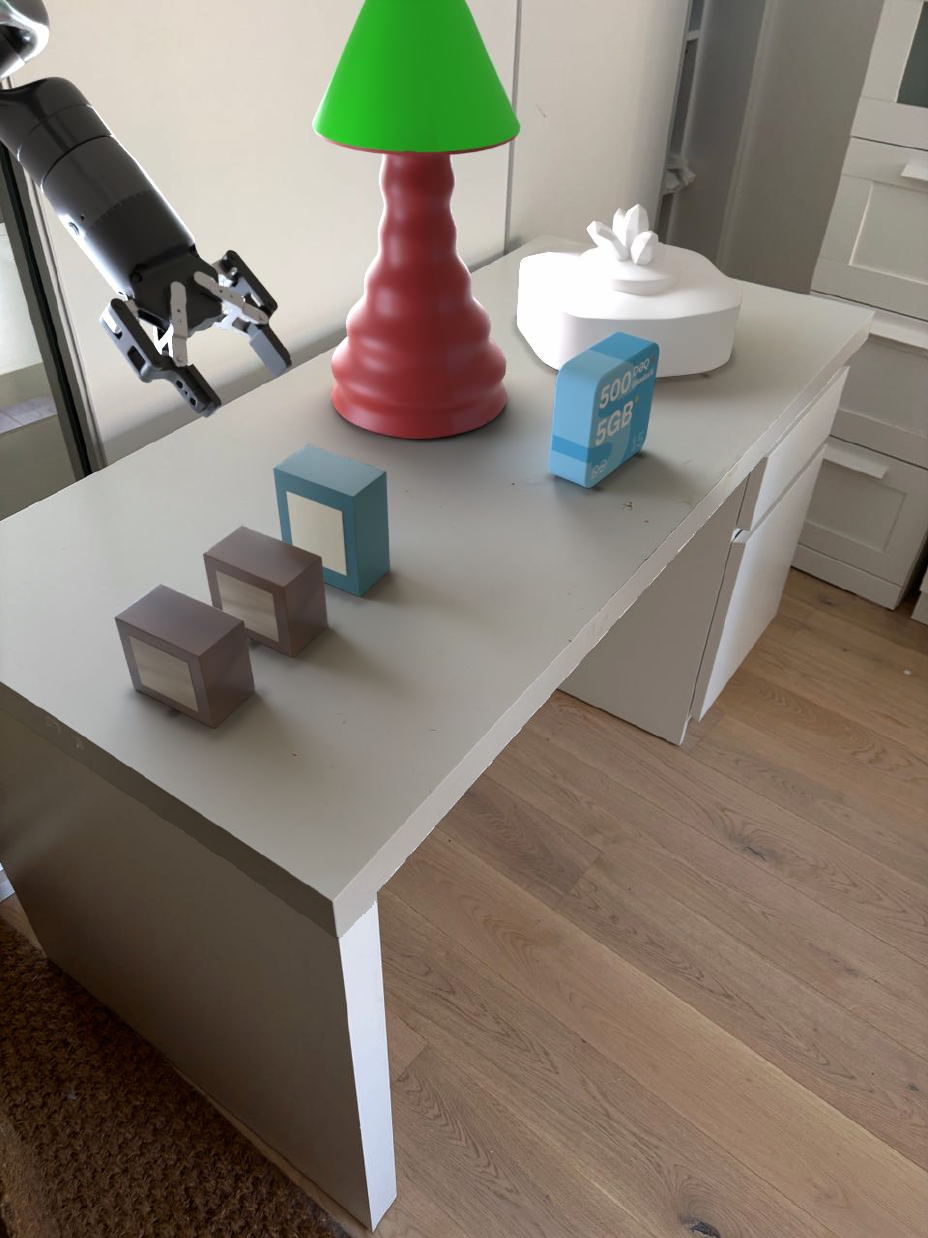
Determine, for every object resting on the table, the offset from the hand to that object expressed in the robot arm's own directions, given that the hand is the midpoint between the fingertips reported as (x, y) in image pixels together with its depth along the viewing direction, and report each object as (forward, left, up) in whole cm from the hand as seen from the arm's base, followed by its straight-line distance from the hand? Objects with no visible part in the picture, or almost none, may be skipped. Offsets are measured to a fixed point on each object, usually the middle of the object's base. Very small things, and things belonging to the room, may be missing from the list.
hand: (251, 390), depth 78 cm
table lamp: (+12, +28, -15) cm, 34 cm away
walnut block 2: (+2, -12, -15) cm, 19 cm away
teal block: (+6, -4, -15) cm, 17 cm away
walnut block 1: (-2, -19, -15) cm, 25 cm away
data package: (+31, +15, -15) cm, 38 cm away
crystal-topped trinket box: (+37, +47, -15) cm, 62 cm away
